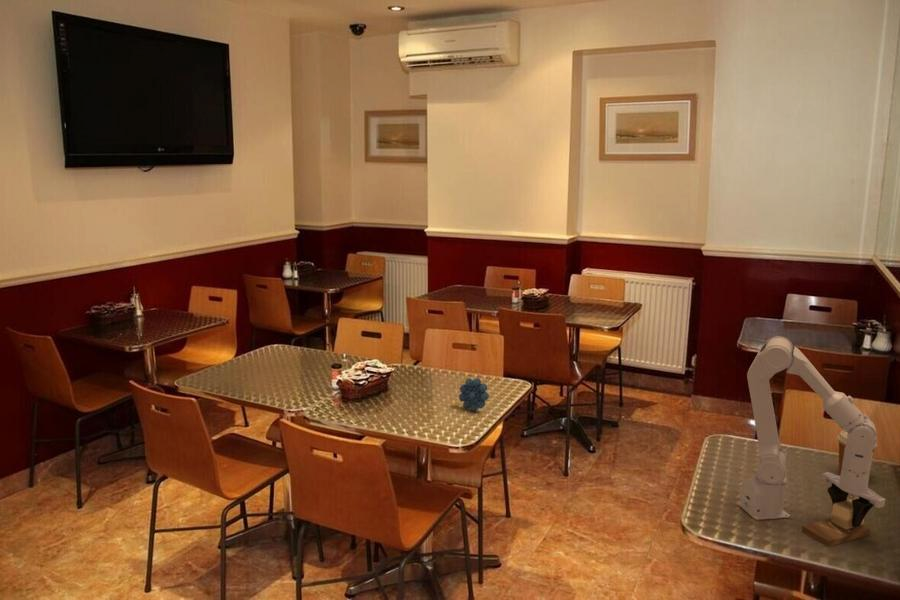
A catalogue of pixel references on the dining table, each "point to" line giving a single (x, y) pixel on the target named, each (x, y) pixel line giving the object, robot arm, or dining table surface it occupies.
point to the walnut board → (833, 532)
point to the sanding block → (843, 515)
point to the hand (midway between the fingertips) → (847, 521)
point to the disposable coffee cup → (843, 447)
